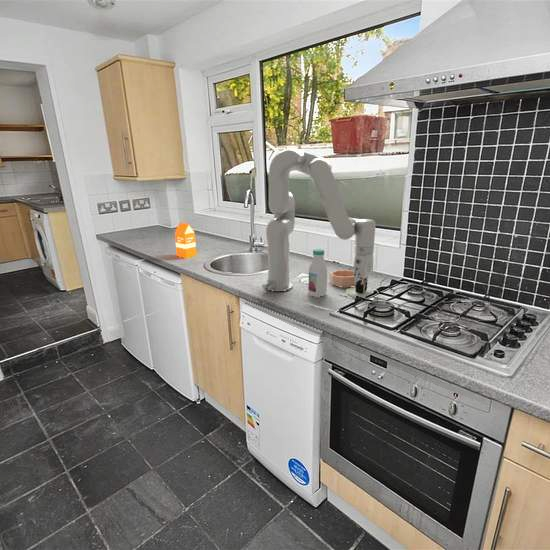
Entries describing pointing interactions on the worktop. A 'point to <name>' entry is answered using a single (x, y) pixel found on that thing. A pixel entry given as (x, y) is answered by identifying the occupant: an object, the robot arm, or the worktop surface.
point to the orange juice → (185, 241)
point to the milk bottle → (317, 274)
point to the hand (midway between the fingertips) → (361, 291)
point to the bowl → (342, 278)
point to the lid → (353, 294)
